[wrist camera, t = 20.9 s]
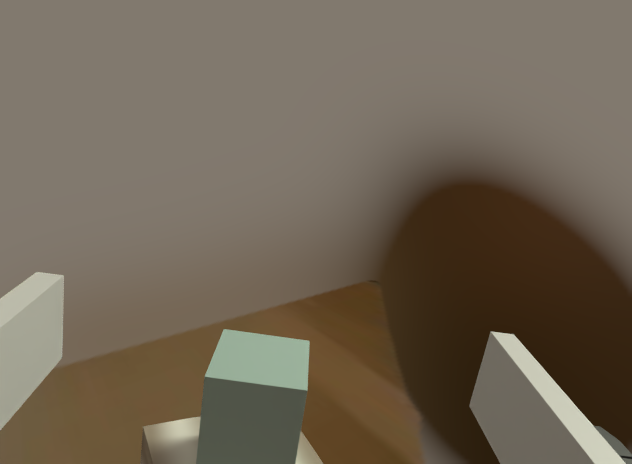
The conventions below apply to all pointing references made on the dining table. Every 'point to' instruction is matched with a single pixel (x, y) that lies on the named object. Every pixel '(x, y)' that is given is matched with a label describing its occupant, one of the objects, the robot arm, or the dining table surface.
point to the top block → (193, 444)
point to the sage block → (253, 400)
